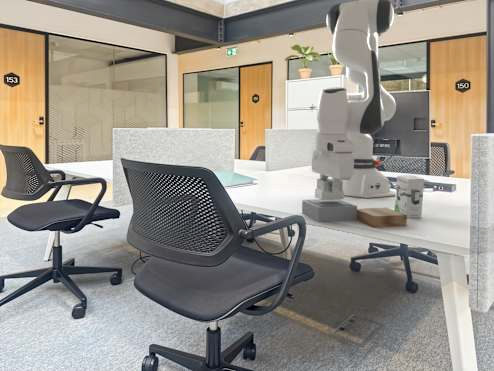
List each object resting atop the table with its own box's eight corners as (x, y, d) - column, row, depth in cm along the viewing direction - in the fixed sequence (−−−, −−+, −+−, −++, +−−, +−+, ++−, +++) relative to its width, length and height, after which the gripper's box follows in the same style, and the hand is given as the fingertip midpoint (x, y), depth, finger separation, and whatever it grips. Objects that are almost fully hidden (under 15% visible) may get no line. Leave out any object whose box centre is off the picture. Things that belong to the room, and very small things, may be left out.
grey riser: (337, 211, 130) (338, 197, 129) (356, 219, 119) (357, 205, 118) (301, 212, 127) (302, 199, 126) (318, 221, 116) (318, 206, 115)
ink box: (393, 211, 130) (396, 174, 128) (408, 211, 131) (411, 174, 129) (405, 218, 122) (408, 178, 120) (422, 218, 122) (425, 178, 120)
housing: (336, 196, 125) (336, 178, 124) (343, 199, 121) (344, 180, 120) (314, 197, 123) (315, 178, 123) (321, 200, 119) (322, 181, 118)
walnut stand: (385, 217, 122) (385, 207, 122) (406, 225, 112) (407, 214, 112) (354, 218, 119) (355, 208, 119) (373, 227, 110) (374, 216, 109)
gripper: (307, 142, 129) (305, 186, 131) (337, 146, 109) (335, 197, 111) (326, 142, 130) (324, 185, 132) (359, 146, 111) (356, 196, 113)
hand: (329, 191), depth 122 cm, fingers closed on housing, 5 cm apart
